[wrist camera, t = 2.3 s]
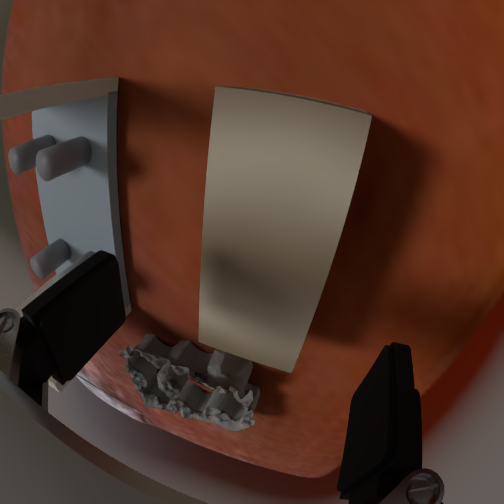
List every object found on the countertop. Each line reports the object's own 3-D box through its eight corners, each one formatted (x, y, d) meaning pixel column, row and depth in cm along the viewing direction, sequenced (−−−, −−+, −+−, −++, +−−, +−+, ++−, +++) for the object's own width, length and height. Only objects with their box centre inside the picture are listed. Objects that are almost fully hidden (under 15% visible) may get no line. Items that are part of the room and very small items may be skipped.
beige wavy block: (252, 87, 12) (215, 86, 9) (365, 110, 11) (372, 116, 8) (226, 296, 18) (198, 341, 15) (305, 321, 17) (291, 373, 14)
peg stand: (40, 86, 15) (-70, 119, 7) (118, 77, 13) (-33, 105, 6) (64, 278, 23) (-3, 339, 16) (131, 310, 22) (60, 393, 14)
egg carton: (256, 344, 20) (235, 391, 16) (265, 404, 23) (251, 443, 20) (132, 323, 23) (104, 356, 20) (160, 380, 27) (140, 411, 23)
